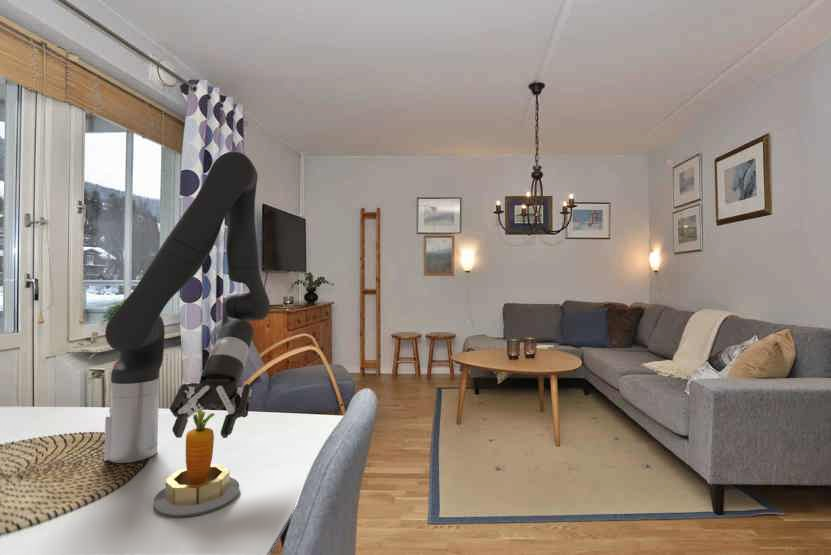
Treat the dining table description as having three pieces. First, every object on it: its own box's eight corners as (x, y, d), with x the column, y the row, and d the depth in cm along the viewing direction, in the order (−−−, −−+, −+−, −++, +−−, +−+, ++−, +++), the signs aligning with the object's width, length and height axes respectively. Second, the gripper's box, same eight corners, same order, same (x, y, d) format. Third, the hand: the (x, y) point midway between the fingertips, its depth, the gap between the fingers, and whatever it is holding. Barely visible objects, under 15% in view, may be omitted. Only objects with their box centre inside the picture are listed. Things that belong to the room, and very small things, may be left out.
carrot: (189, 485, 82) (192, 405, 82) (216, 485, 82) (220, 406, 83) (177, 498, 77) (181, 413, 77) (206, 498, 78) (210, 414, 78)
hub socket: (136, 518, 72) (136, 494, 72) (177, 480, 86) (178, 460, 86) (221, 517, 73) (222, 493, 73) (249, 479, 87) (249, 459, 87)
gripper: (186, 352, 90) (153, 426, 78) (256, 353, 90) (234, 426, 79) (197, 373, 95) (168, 445, 83) (263, 373, 95) (243, 445, 84)
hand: (200, 436), depth 81 cm, fingers open, 8 cm apart
